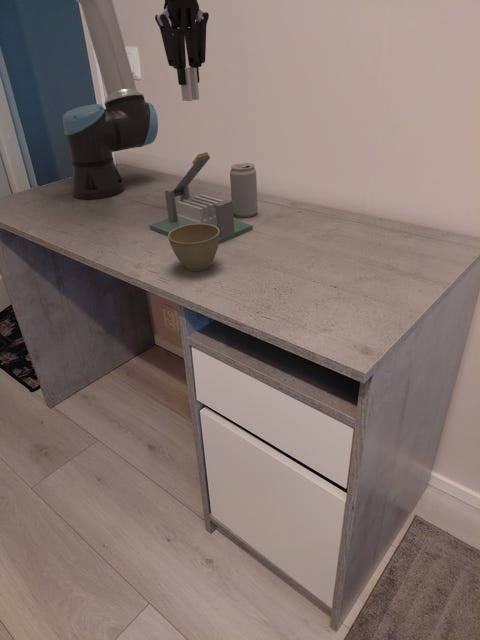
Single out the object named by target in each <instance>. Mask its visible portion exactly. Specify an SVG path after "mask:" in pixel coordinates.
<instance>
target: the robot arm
mask: <svg viewBox="0 0 480 640" xmlns="http://www.w3.org/2000/svg"><path fill="white" fill-rule="evenodd" d="M75 1H76V2H77V3H79V4H80V6H81V9H82V12H83V16H84V19H85V23H86V26H87V30H88V34H89V37H90V40H91V43H92V47H93V50H94V54H95V57H96V61H97V64H98V67H99V71H100V75H101V78H102V81H103V85H104V88H105V91H106V96H107V97H106V99H105V101H104V105H102V104H99V103H94V104H90V105H82V106H79V107H76V108H73V109H71V110H68V111H66V112H64V114H63V116H62V122H63V123H62V124H63V132H64V135H65V137H66V138H65V139H66V142H67V147H68V151H69V154H70V155H69V156H70V158H71V159H70V160H71V163H72V169H73V171H72V180H71V184H72V185H71V190H72V194H73V196H74V198H77V199H81V200H97V199H98V200H99V199H104V198H109V197H110V198H111V197H114V196H116V195H119V194H121V193H123V192H124V191H125V188H126V187H125V182H124V179H123V177H122V176H121V173H120V172H119V170H118V168H117V166H116V164H115V161H114V155H113V153H114V152H119V151H124V150H130V149H134V148H135V149H136V148H142V147H144V146H148V145H151V144H153V143H154V142H155V140H156V139H157V137H158V136H157V135H158V133H159V131H158V130H159V119H158V114H157V111H156V108H155V107H154V105H153V104H152V103H151V102H148V101H146V99H145V96H144V94H143V93H142V92H140V91H139V90H138V89H137V86H136V84H135V78H134V75H133V72H132V68H131V64H130V61H129V57H128V54H127V50H126V46H125V43H124V38H123V35H122V31H121V29H120V28H121V27H120V24H119V20H118V17H117V13H116V10H115V6H114V2H113V0H75ZM209 16H210V15H209V12H207V11H206V12H205V11H202V10H201V8H200V5H199V3H198V0H164V5H163V10H162V12H161V13H159V14H156V15H155V16H154V19H155V22H156V24H157V25H158V28H159V31H160V34H161V39H162V43H163V49H164V52H165V56H166V59H167V64H168V66H169V67H173V69H175V70H176V72H177V82H178V85H179V86H180V89H181V99H182V101H184V102H185V101H186V102H192V101H193V100H194V101H197V100H200V91H199V83H200V71H199V69H200V68H201V67H202V65H203V64H204V63H206V50H207V46H206V45H207V25H208V20H209V18H210V17H209ZM186 55H187V56H186ZM186 57H187V59H186ZM187 61H188V66H189V67H187Z"/></svg>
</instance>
